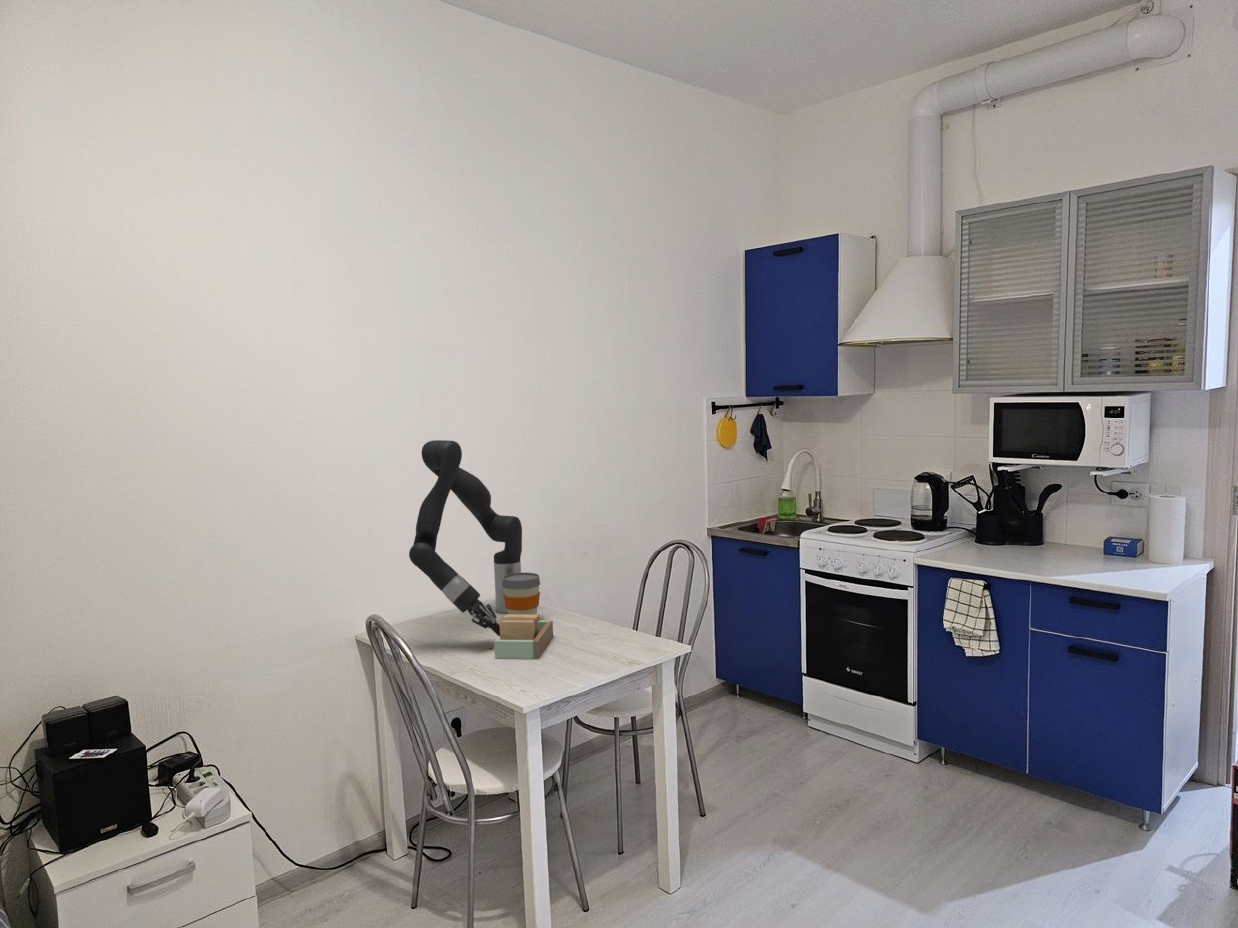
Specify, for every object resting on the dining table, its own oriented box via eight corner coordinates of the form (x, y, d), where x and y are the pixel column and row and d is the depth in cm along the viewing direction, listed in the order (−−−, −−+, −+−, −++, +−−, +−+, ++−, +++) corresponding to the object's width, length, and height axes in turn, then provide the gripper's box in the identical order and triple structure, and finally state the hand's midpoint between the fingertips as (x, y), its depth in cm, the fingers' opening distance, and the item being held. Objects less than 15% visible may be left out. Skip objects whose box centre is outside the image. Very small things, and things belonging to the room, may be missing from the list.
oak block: (507, 643, 248) (506, 614, 247) (539, 643, 247) (538, 614, 246) (500, 651, 240) (499, 621, 239) (533, 652, 239) (532, 622, 238)
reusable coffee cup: (501, 617, 276) (499, 574, 274) (538, 614, 279) (536, 571, 278) (506, 627, 264) (504, 582, 262) (544, 623, 267) (542, 579, 266)
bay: (513, 635, 255) (512, 620, 255) (553, 636, 253) (552, 620, 253) (494, 658, 234) (494, 641, 234) (538, 658, 233) (537, 641, 232)
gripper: (462, 590, 238) (504, 631, 237) (475, 579, 251) (516, 618, 250) (445, 607, 239) (487, 649, 238) (459, 596, 252) (499, 635, 251)
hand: (502, 633), depth 244 cm, fingers closed
